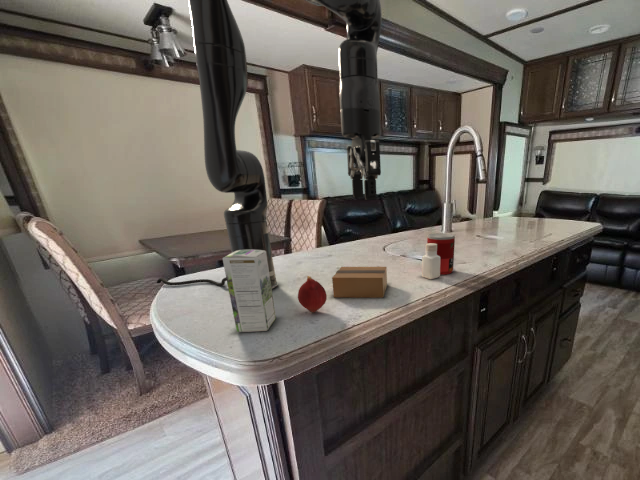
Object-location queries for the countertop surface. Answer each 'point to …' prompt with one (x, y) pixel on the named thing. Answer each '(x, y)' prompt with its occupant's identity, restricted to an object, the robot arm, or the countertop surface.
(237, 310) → the syrup box
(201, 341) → the countertop surface
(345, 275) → the cardboard box
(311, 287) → the onion
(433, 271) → the pepper shaker
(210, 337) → the countertop surface
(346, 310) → the countertop surface
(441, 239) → the canned food
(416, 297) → the countertop surface
